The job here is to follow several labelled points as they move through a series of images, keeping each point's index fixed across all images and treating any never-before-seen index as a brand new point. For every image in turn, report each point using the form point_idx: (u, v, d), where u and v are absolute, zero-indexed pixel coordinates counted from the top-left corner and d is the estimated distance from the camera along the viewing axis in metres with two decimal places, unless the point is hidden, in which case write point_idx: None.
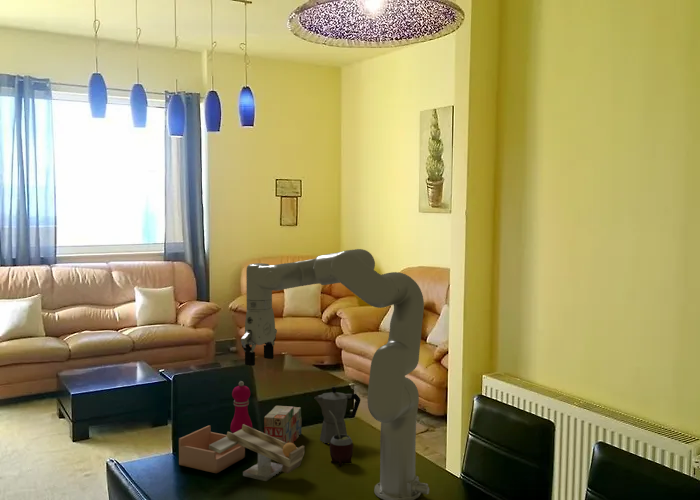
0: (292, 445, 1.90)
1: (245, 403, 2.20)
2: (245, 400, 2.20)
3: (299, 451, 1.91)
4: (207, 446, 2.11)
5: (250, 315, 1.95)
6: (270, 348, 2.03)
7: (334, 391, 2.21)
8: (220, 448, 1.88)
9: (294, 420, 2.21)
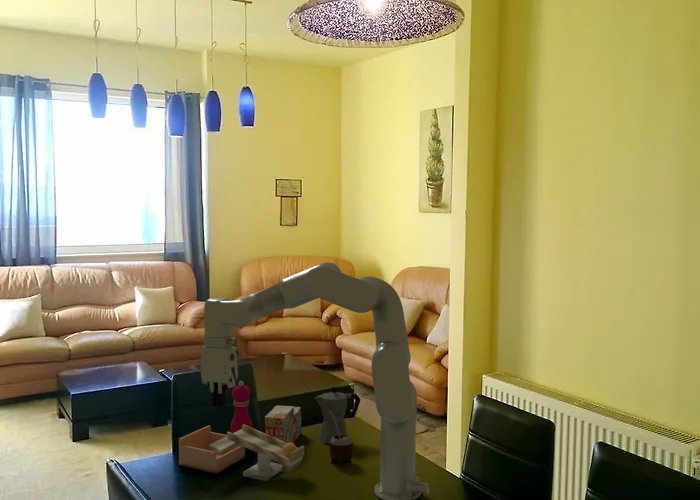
0: (292, 445, 1.90)
1: (245, 403, 2.20)
2: (245, 400, 2.20)
3: (299, 451, 1.91)
4: (207, 446, 2.11)
5: (231, 352, 1.87)
6: None
7: (334, 391, 2.21)
8: (220, 448, 1.88)
9: (294, 420, 2.21)
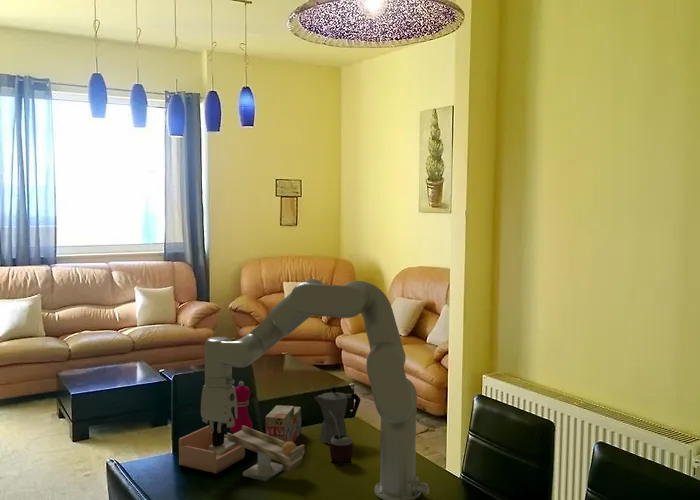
0: (292, 444, 1.90)
1: (245, 403, 2.20)
2: (245, 400, 2.20)
3: (299, 450, 1.90)
4: (207, 446, 2.11)
5: (231, 392, 1.87)
6: None
7: (334, 391, 2.21)
8: (220, 449, 1.88)
9: (294, 420, 2.22)
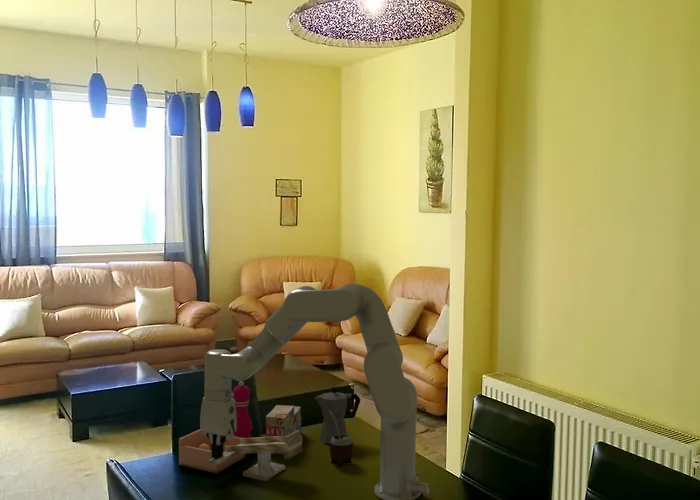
0: None
1: (245, 403, 2.20)
2: (245, 400, 2.20)
3: (295, 435, 1.91)
4: None
5: (231, 404, 1.88)
6: None
7: (334, 391, 2.21)
8: (219, 459, 1.89)
9: (294, 419, 2.22)
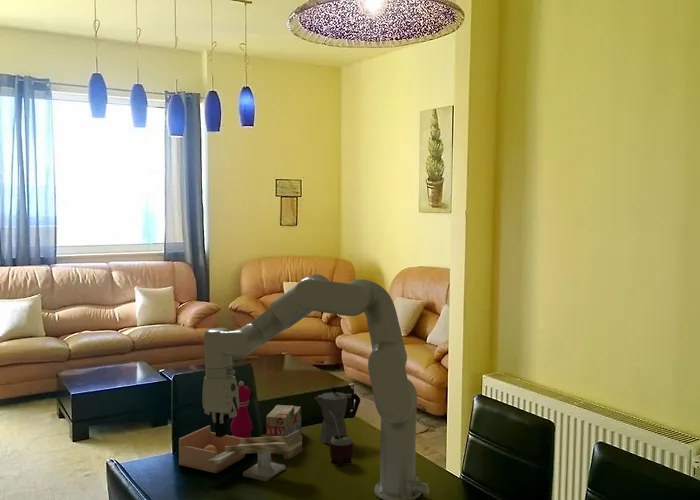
0: None
1: (245, 403, 2.20)
2: (245, 400, 2.20)
3: (295, 435, 1.91)
4: None
5: (232, 382, 1.87)
6: None
7: (334, 391, 2.21)
8: (219, 459, 1.89)
9: (295, 419, 2.22)
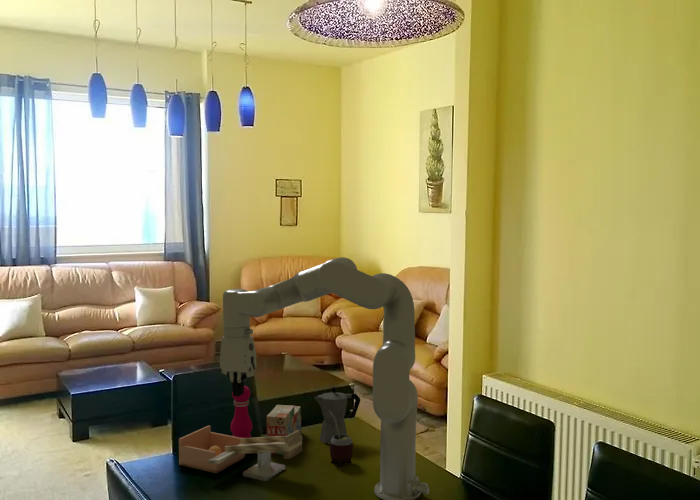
0: None
1: (245, 403, 2.20)
2: (245, 400, 2.20)
3: (295, 435, 1.91)
4: (207, 446, 2.11)
5: (250, 341, 1.91)
6: None
7: (334, 391, 2.21)
8: (219, 459, 1.89)
9: (295, 419, 2.22)
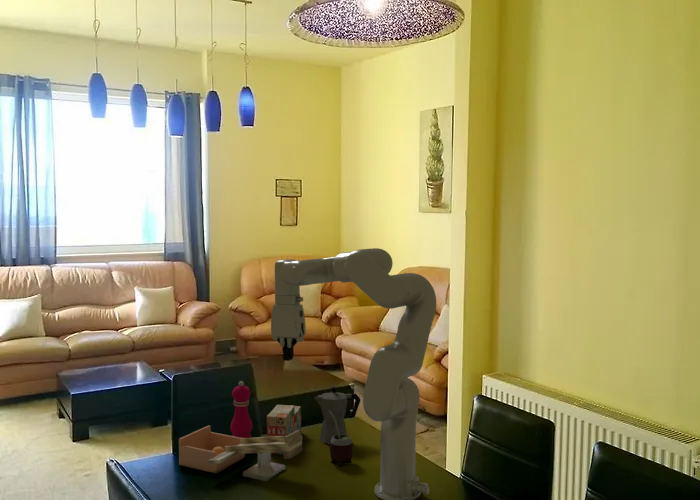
0: None
1: (245, 403, 2.20)
2: (245, 400, 2.20)
3: (295, 435, 1.91)
4: (207, 446, 2.11)
5: (300, 309, 2.02)
6: None
7: (334, 391, 2.21)
8: (219, 459, 1.89)
9: (295, 419, 2.22)
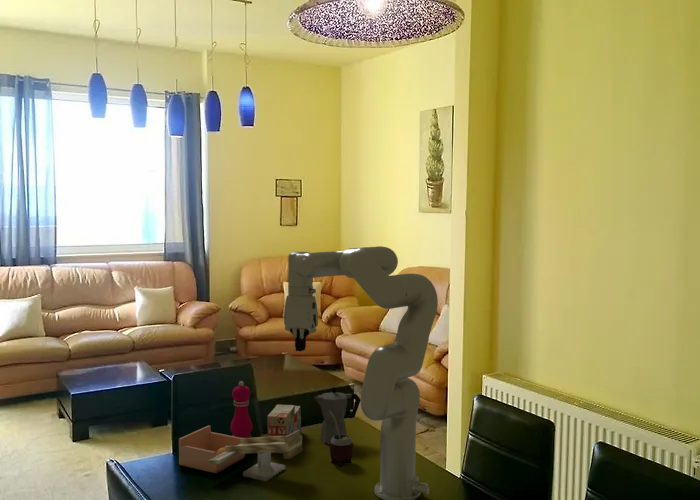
0: (223, 448, 2.02)
1: (245, 403, 2.20)
2: (245, 400, 2.20)
3: (295, 435, 1.91)
4: (207, 446, 2.11)
5: (313, 300, 2.05)
6: None
7: (334, 391, 2.21)
8: (219, 459, 1.89)
9: (295, 419, 2.23)
